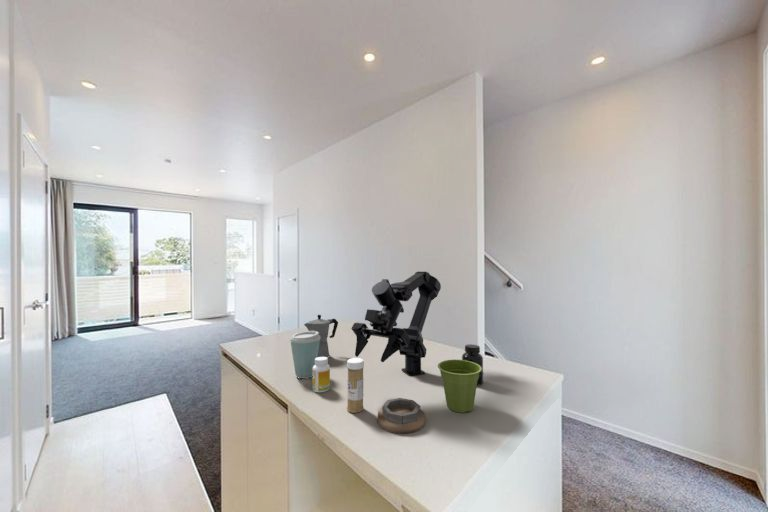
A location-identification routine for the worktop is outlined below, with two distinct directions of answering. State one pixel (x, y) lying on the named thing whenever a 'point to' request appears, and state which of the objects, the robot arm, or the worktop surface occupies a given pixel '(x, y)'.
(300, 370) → the disposable coffee cup
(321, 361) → the supplement bottle
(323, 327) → the coffeepot
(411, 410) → the brown grey round base
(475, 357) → the supplement bottle
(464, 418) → the worktop surface
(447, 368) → the plant pot
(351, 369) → the sprinkles bottle
